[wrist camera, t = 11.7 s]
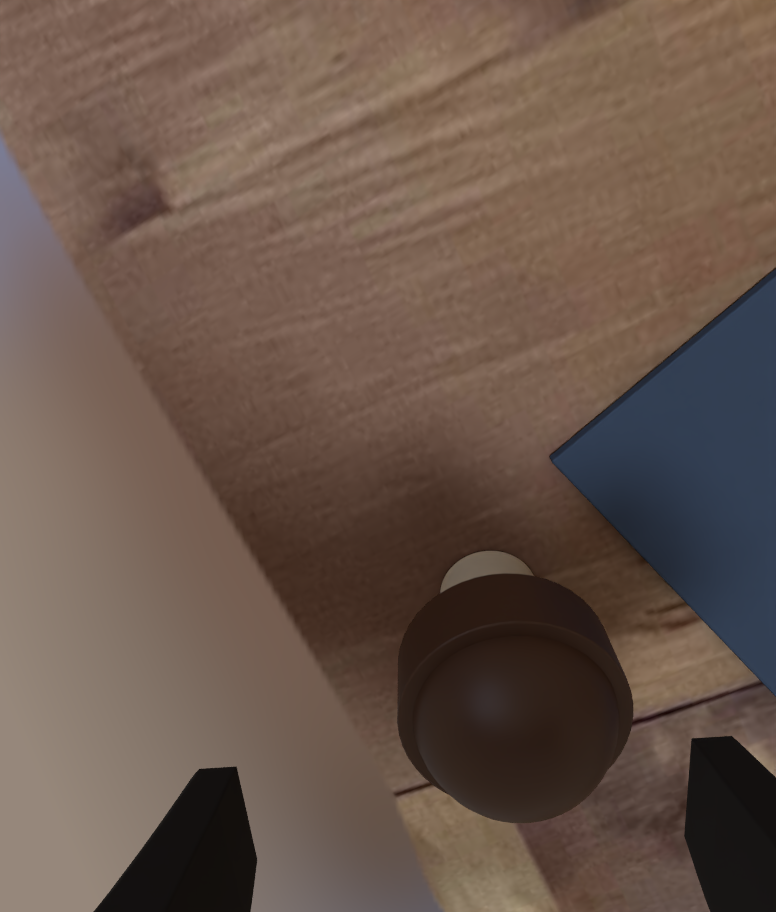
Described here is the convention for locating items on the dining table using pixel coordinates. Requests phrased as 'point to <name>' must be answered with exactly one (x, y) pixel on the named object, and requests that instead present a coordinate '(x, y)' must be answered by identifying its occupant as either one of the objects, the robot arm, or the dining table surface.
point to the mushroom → (510, 692)
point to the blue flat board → (699, 474)
